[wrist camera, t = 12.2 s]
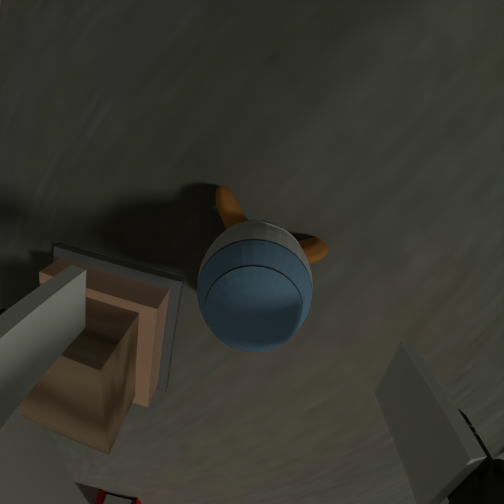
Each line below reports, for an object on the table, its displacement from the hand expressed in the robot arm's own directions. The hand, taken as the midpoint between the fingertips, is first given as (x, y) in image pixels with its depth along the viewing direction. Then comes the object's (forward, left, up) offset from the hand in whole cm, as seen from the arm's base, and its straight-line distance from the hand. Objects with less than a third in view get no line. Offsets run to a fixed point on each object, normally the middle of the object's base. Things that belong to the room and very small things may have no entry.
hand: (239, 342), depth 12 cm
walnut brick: (+13, -12, -12) cm, 21 cm away
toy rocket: (0, 0, -17) cm, 17 cm away
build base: (+13, -12, -17) cm, 24 cm away
